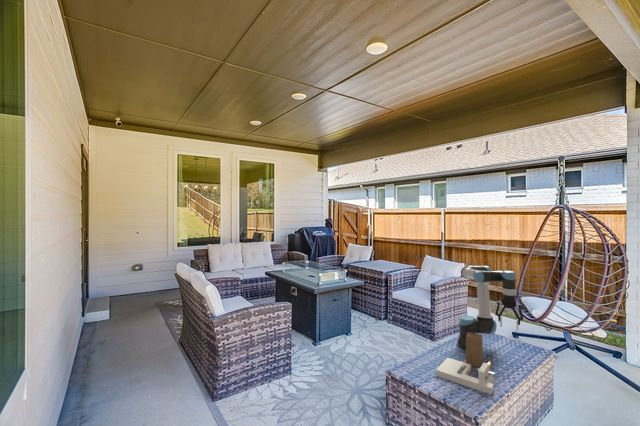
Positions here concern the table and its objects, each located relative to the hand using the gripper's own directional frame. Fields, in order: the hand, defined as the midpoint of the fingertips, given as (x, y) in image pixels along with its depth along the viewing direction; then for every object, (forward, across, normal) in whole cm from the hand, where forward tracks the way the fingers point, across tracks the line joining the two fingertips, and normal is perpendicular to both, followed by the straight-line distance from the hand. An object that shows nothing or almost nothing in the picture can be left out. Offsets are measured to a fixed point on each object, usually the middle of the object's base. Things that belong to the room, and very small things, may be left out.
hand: (509, 327), depth 206 cm
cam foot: (+31, -11, -15) cm, 36 cm away
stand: (+31, -22, -20) cm, 43 cm away
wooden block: (+32, -22, +3) cm, 38 cm away
